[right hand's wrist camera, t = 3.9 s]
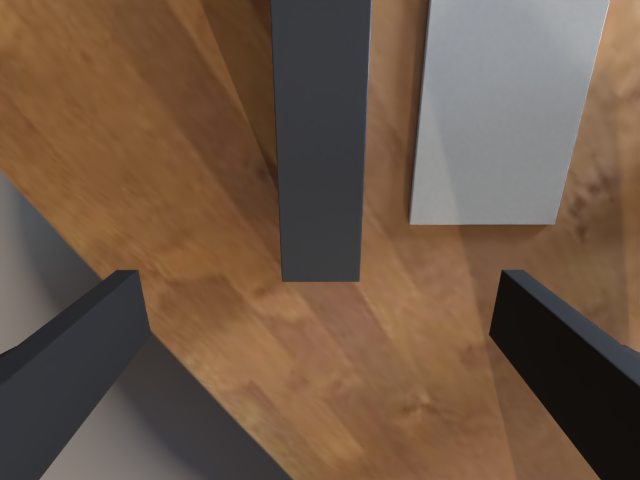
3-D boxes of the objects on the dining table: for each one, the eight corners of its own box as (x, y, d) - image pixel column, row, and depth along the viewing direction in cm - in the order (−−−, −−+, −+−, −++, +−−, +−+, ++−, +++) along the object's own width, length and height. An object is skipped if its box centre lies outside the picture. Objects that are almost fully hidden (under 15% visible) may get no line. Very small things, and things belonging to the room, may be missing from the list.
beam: (280, -228, 21) (248, -503, 12) (361, -228, 21) (394, -502, 12) (293, 232, 31) (281, 282, 22) (347, 232, 31) (359, 282, 22)
